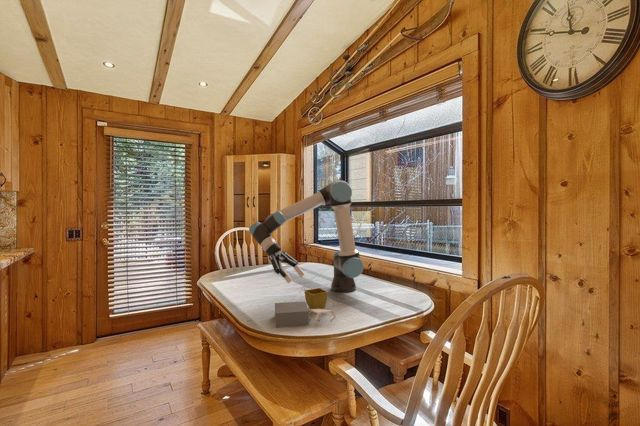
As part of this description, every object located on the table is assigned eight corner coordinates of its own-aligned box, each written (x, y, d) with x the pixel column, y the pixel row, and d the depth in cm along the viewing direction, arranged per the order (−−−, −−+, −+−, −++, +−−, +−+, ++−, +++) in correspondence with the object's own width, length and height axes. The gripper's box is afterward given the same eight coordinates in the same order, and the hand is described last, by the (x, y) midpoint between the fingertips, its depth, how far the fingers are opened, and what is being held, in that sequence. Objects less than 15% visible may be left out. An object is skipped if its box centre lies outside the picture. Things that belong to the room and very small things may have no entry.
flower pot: (311, 313, 146) (311, 294, 146) (304, 308, 154) (303, 290, 154) (328, 310, 151) (328, 291, 150) (319, 305, 158) (319, 287, 158)
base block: (305, 314, 146) (305, 301, 145) (309, 325, 132) (308, 311, 132) (274, 316, 143) (274, 303, 143) (275, 327, 129) (275, 313, 129)
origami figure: (308, 326, 131) (308, 314, 131) (307, 319, 139) (307, 308, 139) (336, 325, 132) (336, 313, 132) (334, 318, 140) (334, 307, 140)
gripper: (279, 249, 175) (303, 278, 169) (252, 255, 152) (279, 289, 146) (287, 240, 172) (312, 269, 166) (261, 245, 149) (289, 279, 144)
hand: (296, 278), depth 156 cm, fingers open, 13 cm apart
